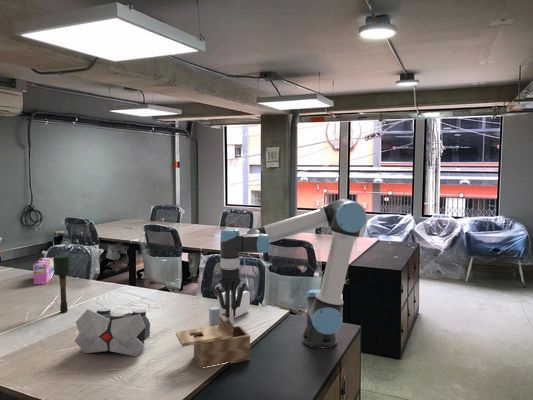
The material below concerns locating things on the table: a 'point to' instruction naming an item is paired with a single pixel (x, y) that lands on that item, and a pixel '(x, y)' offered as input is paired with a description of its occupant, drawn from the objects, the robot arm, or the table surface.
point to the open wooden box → (224, 349)
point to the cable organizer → (243, 306)
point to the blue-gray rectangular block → (214, 316)
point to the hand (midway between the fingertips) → (230, 324)
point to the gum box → (43, 270)
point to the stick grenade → (62, 277)
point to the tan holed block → (207, 333)
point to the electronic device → (112, 331)
